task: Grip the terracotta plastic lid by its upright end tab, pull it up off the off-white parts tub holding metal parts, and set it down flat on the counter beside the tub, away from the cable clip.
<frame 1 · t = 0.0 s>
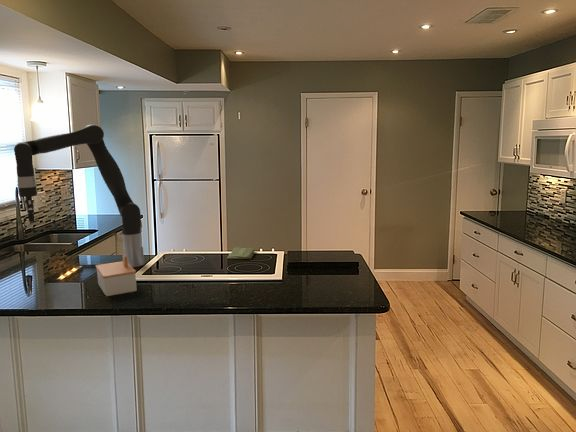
hand: (31, 220, 230), 29 cm above the table, fingers open, 8 cm apart
washcloth: (242, 256, 272), on the table
parts tub: (117, 287, 222), on the table
snap lid: (115, 272, 221), point 7 cm above the table, touching parts tub
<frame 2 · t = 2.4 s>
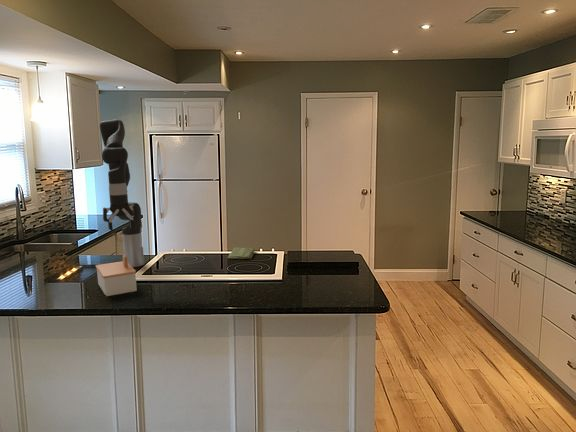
hand: (121, 229, 219), 26 cm above the table, fingers open, 8 cm apart
nothing on the table moved.
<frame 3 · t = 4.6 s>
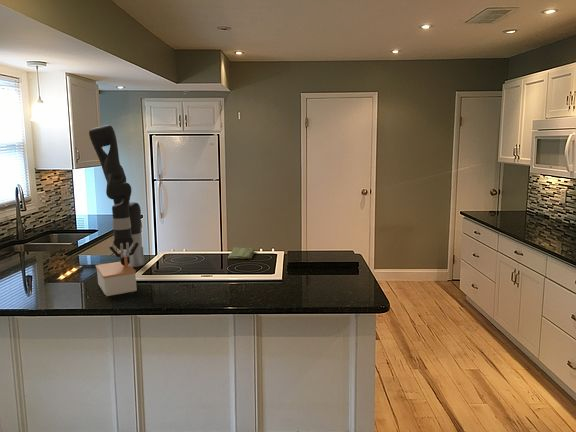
hand: (125, 264, 222), 10 cm above the table, fingers closed on snap lid
snap lid: (115, 272, 221), point 7 cm above the table, touching gripper
everything else where it was.
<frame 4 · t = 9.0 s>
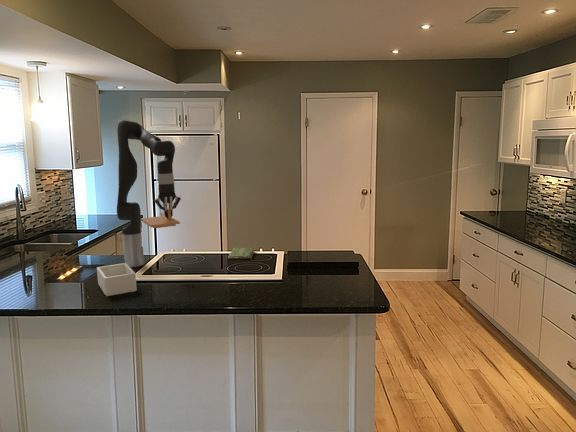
hand: (168, 217, 242), 27 cm above the table, fingers closed on snap lid
snap lid: (160, 224, 240), point 24 cm above the table, touching gripper
everything else where it was.
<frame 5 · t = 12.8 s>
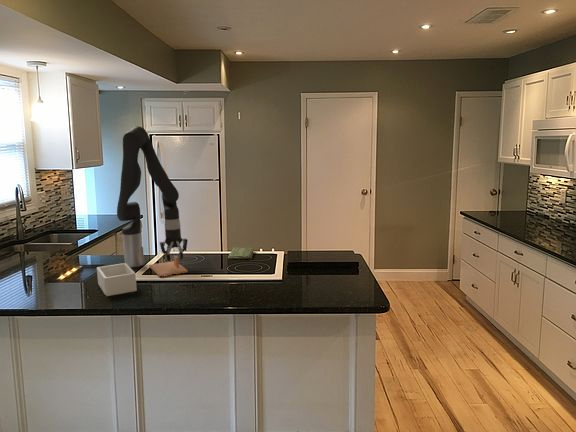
hand: (174, 260, 247), 5 cm above the table, fingers open, 5 cm apart
snap lid: (168, 271, 246), on the table
everything else where it was.
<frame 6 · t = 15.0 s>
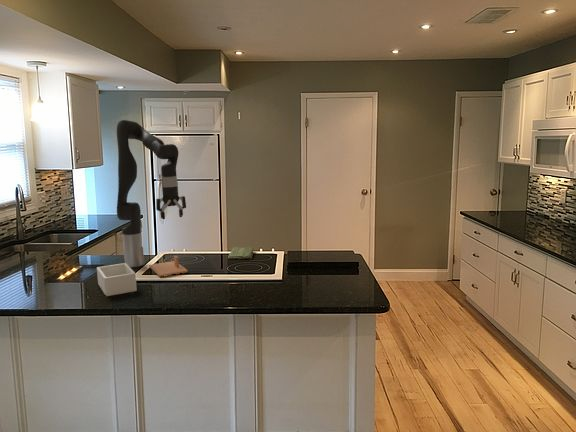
hand: (172, 218, 243), 26 cm above the table, fingers open, 8 cm apart
nothing on the table moved.
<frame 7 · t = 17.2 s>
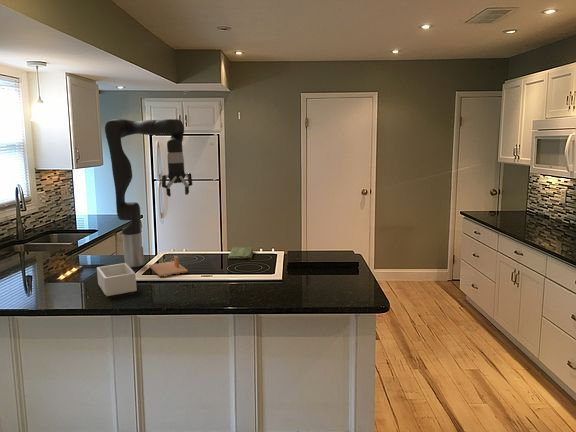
hand: (178, 195, 237), 38 cm above the table, fingers open, 8 cm apart
nothing on the table moved.
at the end: snap lid inside the target area (0.2 cm from its centre), on the table; snap lid touching table; the gripper is holding nothing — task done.
